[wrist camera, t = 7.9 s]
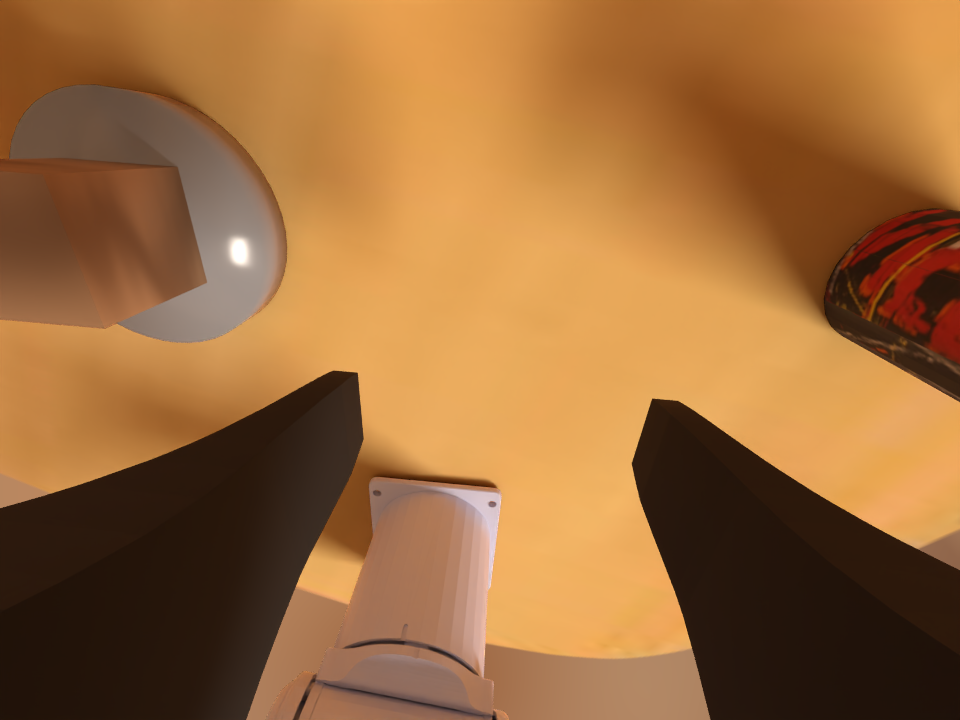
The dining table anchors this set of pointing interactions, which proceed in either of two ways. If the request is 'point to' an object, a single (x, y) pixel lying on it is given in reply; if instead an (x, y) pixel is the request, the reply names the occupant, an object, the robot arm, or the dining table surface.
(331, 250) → the dining table surface
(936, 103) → the dining table surface
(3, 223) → the walnut block
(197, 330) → the grey disc
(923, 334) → the deodorant
